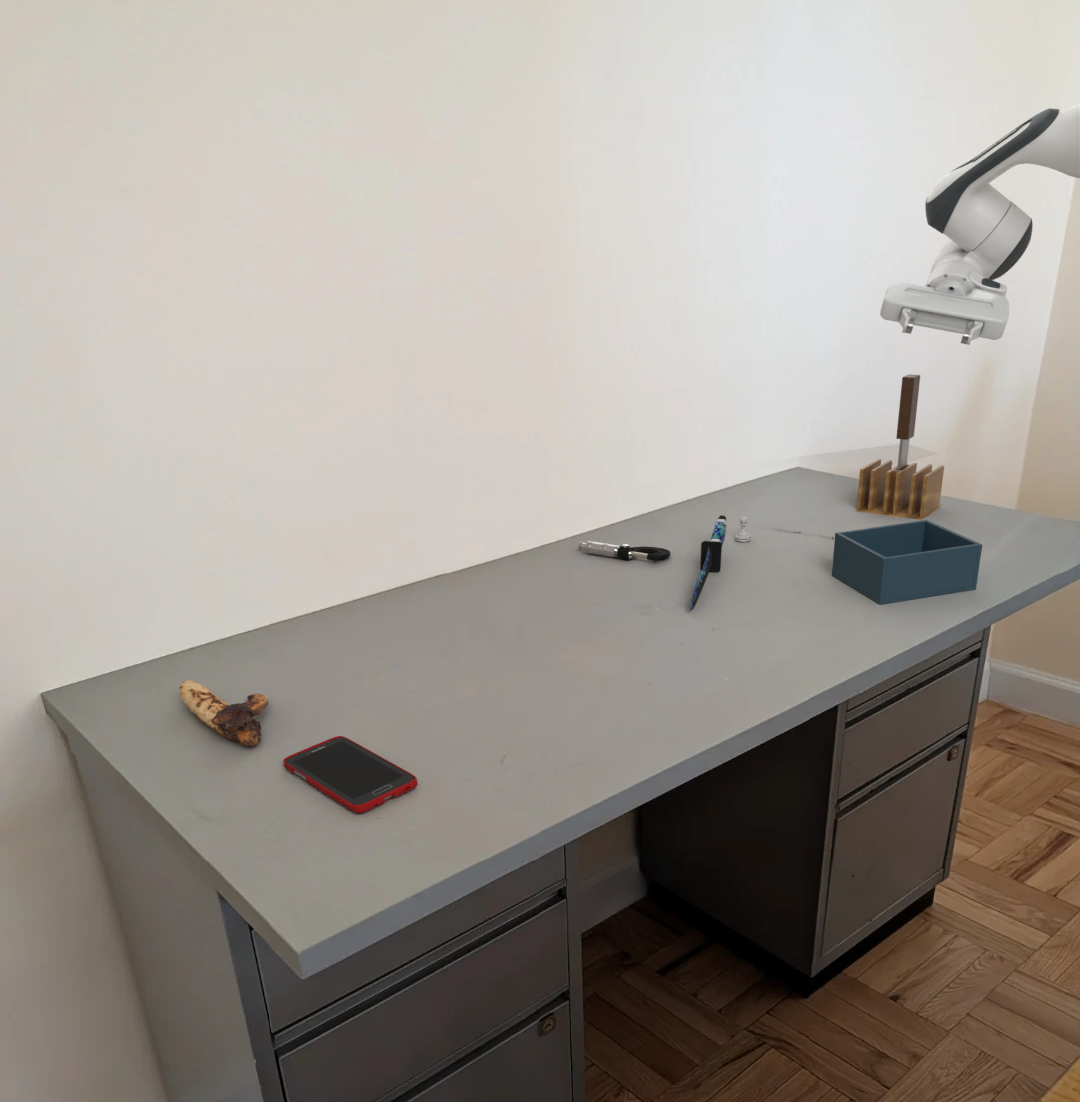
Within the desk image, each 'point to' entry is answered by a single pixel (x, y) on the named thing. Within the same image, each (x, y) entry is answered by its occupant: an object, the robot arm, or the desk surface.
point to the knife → (710, 556)
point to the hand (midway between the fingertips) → (936, 334)
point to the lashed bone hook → (225, 713)
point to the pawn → (743, 531)
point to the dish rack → (899, 490)
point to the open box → (906, 561)
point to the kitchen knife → (907, 416)
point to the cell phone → (350, 773)
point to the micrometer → (623, 551)
